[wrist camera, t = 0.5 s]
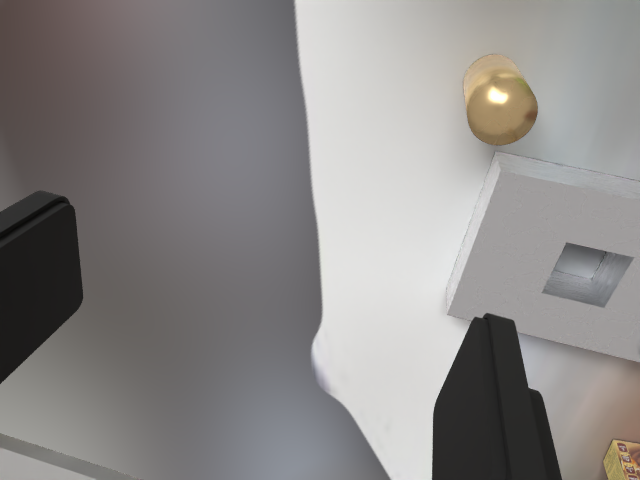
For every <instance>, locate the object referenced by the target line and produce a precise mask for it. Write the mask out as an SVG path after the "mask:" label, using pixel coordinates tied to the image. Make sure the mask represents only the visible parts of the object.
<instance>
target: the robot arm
mask: <svg viewBox="0 0 640 480" xmlns="http://www.w3.org/2000/svg"><path fill="white" fill-rule="evenodd" d="M82 300H83V289H82V279H81V268H80V259H79V248H78V237H77V226H76V216H75V209H74V207H73V206H72V205H70V203H69V201H68V199H67V198H66V197H64V196H60V195H56V194H53V193H49V192H45V191H37V192H35V193H33V194H31V195H29V196H28V197H26V198H24V199H22V200H21V201H19V202H17V203H15V204H13V205H12V206H10V207H8V208H7V209H5V210H3V211H1V212H0V384H1V383H2V381H4V380H5V379H6V378H7V377H8V376H9V375H10V374H11V373H12V372H13V371H14V370H15V369H16V368H17V367H18V366H20V365H21V364H22V363H23V361H25V360H26V359H27V358H28V357H29V356H30V355H31V354H32V353H33V352H34V351H35V350H36V349H37V348H38V347H39V346H40V345H41V344H43V342H45V341H46V340H47V339H48V338H49V337H50V336H51V335H52V334H53V333H54V332H55V331H56V330H57V329H58V328H59V327H60V326H61V325H62V324H63V323H64V322H65V321H66V320H67V319H69V318H70V317H71V316H72V315H73V314H74V313H75V312H76V311H77V310H78V308H79V307H80V305H81V303H82ZM0 480H142V479H139V478H136V477H133V476H130V475H127V474H124V473H121V472H118V471H115V470H112V469H108V468H106V467H102V466H99V465H96V464H93V463H90V462H87V461H84V460H81V459H78V458H75V457H72V456H69V455H65V454H62V453H59V452H56V451H53V450H50V449H47V448H44V447H41V446H38V445H35V444H32V443H28V442H25V441H22V440H19V439H16V438H13V437H10V436H7V435H4V434H0ZM432 480H562V477H561V473H560V469H559V465H558V460H557V456H556V452H555V448H554V443H553V439H552V435H551V431H550V426H549V422H548V418H547V414H546V409H545V405H544V401H543V398H542V396H541V394H540V393H539V392H538V391H536V390H533V389H529V388H528V383H527V378H526V374H525V369H524V364H523V359H522V354H521V349H520V345H519V340H518V335H517V330H516V325H515V322H514V320H512V319H508V318H505V317H501V316H497V315H494V314H490V313H485V315H484V316H483V318H479V317H474V318H473V320H472V322H471V324H470V327H469V329H468V331H467V333H466V335H465V338H464V340H463V342H462V344H461V347H460V349H459V351H458V353H457V355H456V358H455V360H454V362H453V364H452V367H451V369H450V371H449V373H448V375H447V378H446V380H445V382H444V384H443V387H442V389H441V391H440V393H439V395H438V398H437V400H436V403H435V407H434V413H433V461H432Z"/></svg>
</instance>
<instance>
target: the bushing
mask: <svg viewBox="0 0 640 480" xmlns="http://www.w3.org/2000/svg"><path fill="white" fill-rule="evenodd" d="M463 90H464V97H465V103H466V110H467V117H468V123H469V126H470V129H471V131H472V132H473V134H474V135H475V136H476V137H477V138H478V139H480V140H481V141H483V142H485V143H488V144H491V145H506V144H510V143H513V142H515V141H517V140H519V139H520V138H522V137H523V136H524V135H526V134H527V133H528V132H529V130H530V129H531V128H532V126H533V125H534V122H535V120H536V117H537V112H538V106H537V101H536V98H535V96H534V94H533V92H532V91H531V89H530V87H529V86H528V84H527V82H526V81H525V79H524V78H523V76H522V74H521V73H520V71H519V69H518V68H517V66H516V65H515V63H514V62H513V61H512V60H510V59H509V58H507V57H505V56H502V55H487V56H484V57H482V58H480V59H478V60H477V61H475V62H474V63H473V64H472V65H471V66H470V67H469V69H468V70H467V72H466V74H465V77H464V81H463Z"/></svg>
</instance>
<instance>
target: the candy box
mask: <svg viewBox="0 0 640 480" xmlns="http://www.w3.org/2000/svg"><path fill="white" fill-rule="evenodd" d="M603 463H604V467H605V470H606V473H607V477H608V480H640V444H639V443H631V442H626V441H622V440H617V439H613V441H612V443H611V446H610V448H609V450H608V452H607V454H606V456H605V459H604V461H603Z"/></svg>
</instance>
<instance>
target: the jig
mask: <svg viewBox="0 0 640 480" xmlns="http://www.w3.org/2000/svg"><path fill="white" fill-rule="evenodd" d="M566 242H568V243H572V244H576V245H581V246H585V247H590V248H594V249H599V250H603V251H607V253H606V255H605V256H604V258H603V260H602V262H601V264H600V265H599V267H598V269H597V271H596V273H595V274H594V276H593V278H592V280H591V279H587V278H583V277H579V276H574V275H570V274H566V273H561V272H557V271H553V269H554V267H555V265H556V263H557V261H558V259H559V257H560V255H561V253H562V250H563V248H564V246H565V244H566ZM485 313H490V314H494V315H497V316H501V317H505V318H508V319H512V320H514V322H515V325H516V330H517V332H519V333H523V334H527V335H531V336H535V337H539V338H543V339H547V340H551V341H555V342H559V343H563V344H567V345H571V346H575V347H580V348H584V349H588V350H592V351H596V352H600V353H604V354H608V355H612V356H616V357H620V358H624V359H628V360H632V361H636V362H640V181H637V180H632V179H627V178H623V177H618V176H613V175H608V174H603V173H599V172H594V171H589V170H584V169H580V168H575V167H570V166H565V165H560V164H556V163H551V162H546V161H541V160H537V159H532V158H527V157H522V156H518V155H513V154H508V153H503V152H498V151H496V152H495V154H494V157H493V160H492V163H491V166H490V168H489V171H488V174H487V177H486V179H485V182H484V185H483V188H482V191H481V193H480V196H479V199H478V202H477V205H476V207H475V210H474V213H473V216H472V219H471V221H470V224H469V227H468V230H467V233H466V235H465V238H464V241H463V244H462V247H461V249H460V252H459V255H458V258H457V260H456V263H455V266H454V269H453V272H452V274H451V277H450V280H449V283H448V286H447V315H450V316H454V317H458V318H462V319H466V320H470V321H472V320H473V318H474V317H479V318H483V316H484V315H485Z"/></svg>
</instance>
